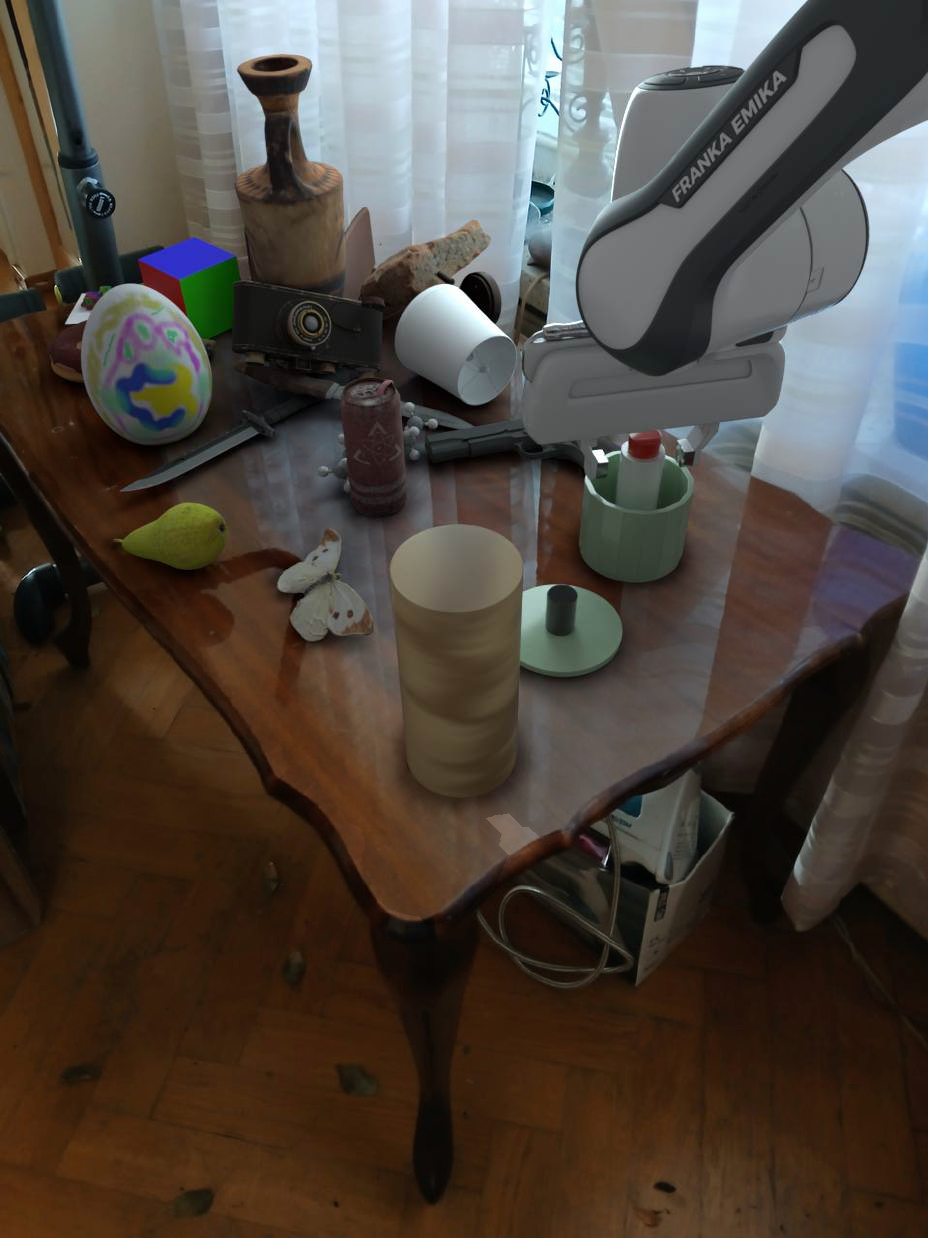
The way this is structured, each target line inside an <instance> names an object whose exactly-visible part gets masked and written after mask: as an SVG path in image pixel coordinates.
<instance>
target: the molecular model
mask: <svg viewBox="0 0 928 1238" xmlns="http://www.w3.org/2000/svg"><path fill="white" fill-rule="evenodd" d="M413 404H414V403H413V402H410V401H409V402H408V401H407V402H406V404H405V406H404V409H405V411H406V412H408V413H410V416H411V418H410V417H409V419H408V420H407V423H406V424H407V425H406V426H405V427H404V431H402V432H403V447H406V448H408V447H409V449H410V451H409V453H408V455H409V458H410V460H412V461H417V460H419V458H420V456H421V454H420V451H418V450H417V449H414V447H413V446H414V445H415V443H416V441H417V437H419V435H420V432H421V431H422V429H423V427H428V428H429V429H430V430H435V429H437V428H438V423H437V421H436V420H435V419H430V420H429V421H428V422H424V421H422V420H421V418H419V417H417V416H414V415H413V411H414V405H415V404H414V405H413ZM337 442H338V444H340V445H342V446H344V448H345V442H344V434H343V433H340V434H339V435H338V436H337ZM341 456H342V458H341V460H340V462H337V463H336V464H335V465H334V466H333V469H329V468H328V467H327V466H324V465H322V466H320V467H319V468H318V470H317V474H318V476H319V477H322V478H327V477H328V476H329V474H333V475H334V476H335V477H336V478H337V479H339V480H343V481H344V484H343V490H344V492H345V493H347V494H351V493H350V485H349V479H348V478H349V476H348V468H347V459H346V451H345V449H344V450H343V452H342V454H341Z"/></svg>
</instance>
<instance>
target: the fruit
mask: <svg viewBox="0 0 928 1238" xmlns="http://www.w3.org/2000/svg"><path fill="white" fill-rule="evenodd" d="M228 538H229V530H228V526H227V523H226V521H225V519H224V517H223V516H222V514H220V513H219V512H218V511H217V510H215V509H214V508H212V507H210V506H208V505H204V504H202V503H196V502H182V503H179V504H177V505H174V506H172V507H171V508H169V509H168V510H167V511H165V512H164V513H163V514H162V515H161V516H160V517H159V518H157V519H156V520H154V521H152V522H149V523H148V524H145V525H143V526H141V527H139V528H137V529H135V530H133V531H132V532H130V533H129V534H128V535H127V536H125V537H124V538H123V539H119V538H113V539H112V543H114V544H121V546H122V549H124V551H126V552H127V553H129V554H131V555H134V556H136V557H139V558H143V559H147V560H150V561H151V560H152V561H156V562H158V563H159V562H160V563H163V564H166V565H167V566H169V567H170V566H171V567H172V568H175V569H179V570H183V571H190V570H192V571H193V570H199V569H203V568H204V567H205V568H206V567H207V566H208V565H210V564H212V563H213V562H214V561H216V560H217V558H218V557H219V556H220V555H221V553H222V552H223V550H224V548H225V547H226V545H227V541H228Z"/></svg>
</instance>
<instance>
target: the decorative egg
mask: <svg viewBox="0 0 928 1238" xmlns="http://www.w3.org/2000/svg"><path fill="white" fill-rule="evenodd" d="M81 365H82V373H83V378H84V383H83V384H84V386H85V389H86V393H87V396H88V398H89V399H90V401H91V404H92V406H93V407H94V409H95V412H96V413H97V414H98V416H99V417H100V418H101V419H102V420H103V422H104V423H105V424H106V425H107V426H108V427H109V428H110V429H112V431H113V432H115V433H116V434H118V435H119V436H121V437H122V438H124V439H126V440H127V441H129V442H132V443H133V444H134V443H135V444H138V445H143V446H162V445H167V444H172V443H175V442H178V441H180V440H182V439H185V438H187V437H188V436H190V435H191V434H192V433H194V432H195V431H196V430H197V429H198V428H199V427H200V426H201V424H202V423H203V421H204V419H205V417H206V415H207V413H208V411H209V408H210V405H211V400H212V394H213V372H212V367H211V363H210V358H209V355H207V352H206V350H205V347H204V345H203V342H202V340H201V338H200V336H199V334H198V333H197V331H196V330H195V328H194V326H193V325H192V323H191V322H190V321H189V319H188V318H187V317H186V316H185V314H184V313H183V312H182V311H181V310H180V309H179V308H178V307H177V306H176V305H175V304H174V303H173V302H171V301H170V300H169V299H168V298H166V297H165V296H163V295H162V294H160V293H159V292H157V291H155V290H153V289H151V288H149V287H146V286H144V284H143V285H142V284H139V283H124V284H119V285H116V286H114V287H112V289H110V290H109V291H108V292H106V293H105V294H104V295H103V296H102V297H101V298H100V299H99V301H98V302H97V303H96V305H95V306H94V308H93V310H92V311H91V313H90V316H89V318H88V320H87V323H86V326H85V329H84V333H83V339H82V346H81Z"/></svg>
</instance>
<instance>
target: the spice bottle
mask: <svg viewBox="0 0 928 1238" xmlns="http://www.w3.org/2000/svg"><path fill="white" fill-rule="evenodd" d="M662 437H663V436H662V433H661V432H660V430H655V431H647V432H639V433H631V434H628V440H627V441H625V442H624V443H623V444H622V445H621V446H620V447H621V454H620V463H619V471H618V480H617V488H616V497H615V505H617V506H620V507H623V508H625V509H633V510H642V511H648V510H656V509H657V505H658V499H659V493H660V486H661V480H662V473H663V467H664V460H665V455H666V452H667V451H666V449H665V447H664V446H663V444H662Z"/></svg>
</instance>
